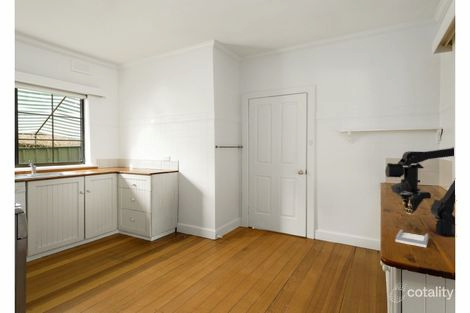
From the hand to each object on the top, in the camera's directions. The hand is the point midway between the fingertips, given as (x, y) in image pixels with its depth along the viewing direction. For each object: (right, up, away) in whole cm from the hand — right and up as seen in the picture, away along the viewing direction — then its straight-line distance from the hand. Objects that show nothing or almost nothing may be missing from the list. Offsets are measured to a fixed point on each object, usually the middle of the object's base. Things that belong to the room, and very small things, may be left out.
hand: (410, 210), depth 126 cm
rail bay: (-6, -11, -10) cm, 16 cm away
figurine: (0, -2, 0) cm, 2 cm away
